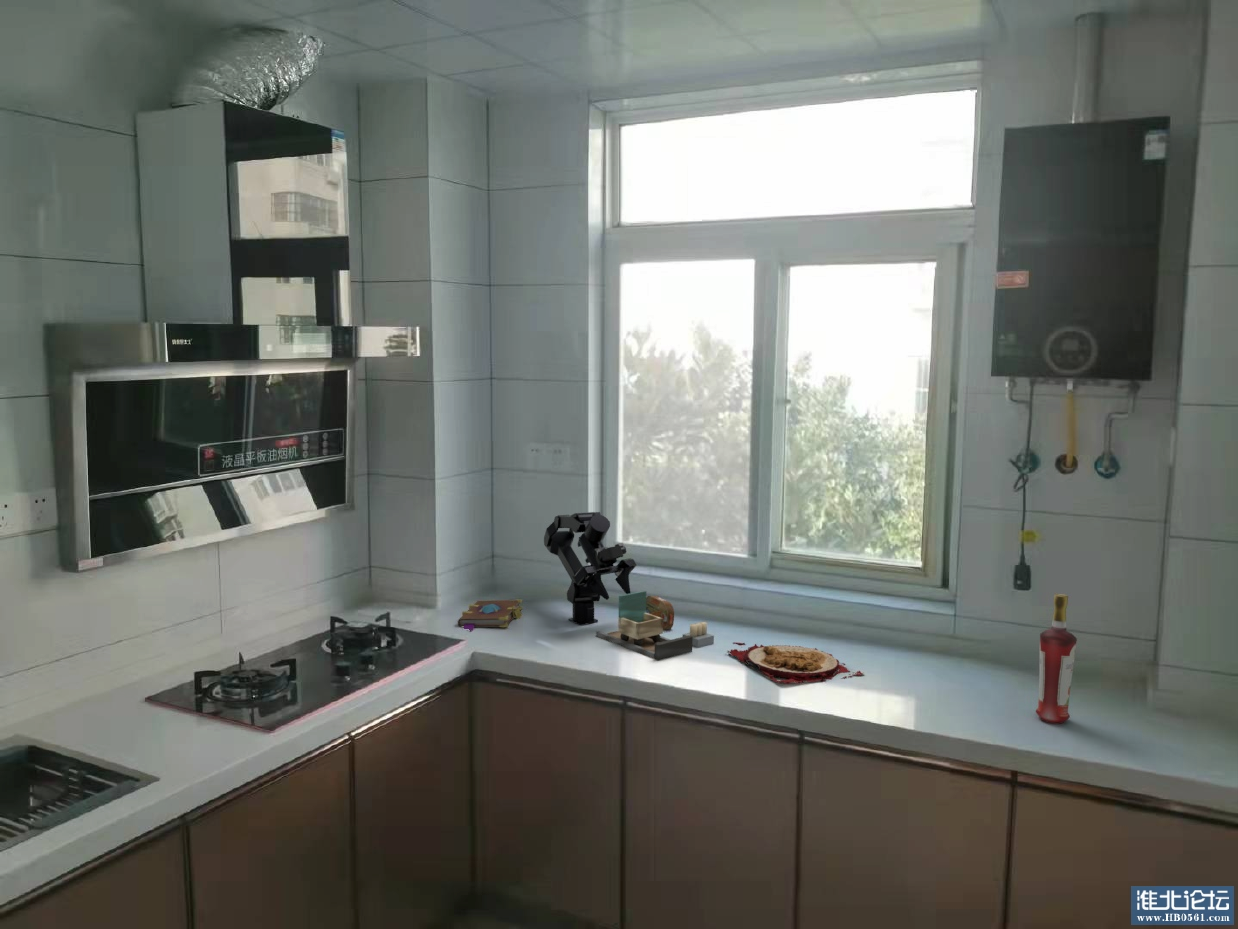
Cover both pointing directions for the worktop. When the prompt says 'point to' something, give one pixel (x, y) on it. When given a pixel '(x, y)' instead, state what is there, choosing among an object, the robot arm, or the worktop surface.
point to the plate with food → (791, 663)
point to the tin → (661, 610)
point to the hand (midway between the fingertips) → (618, 596)
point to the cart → (637, 619)
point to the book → (490, 614)
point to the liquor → (1056, 666)
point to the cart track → (652, 645)
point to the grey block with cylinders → (700, 635)
